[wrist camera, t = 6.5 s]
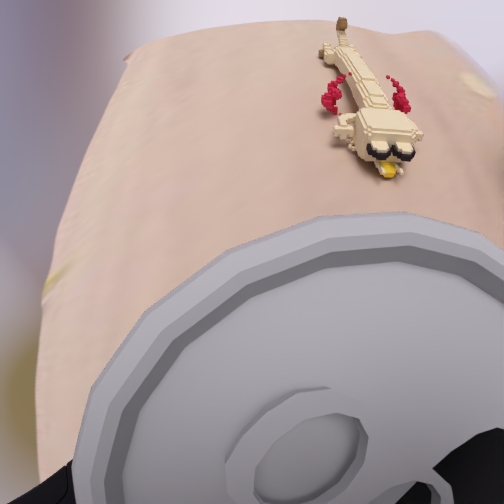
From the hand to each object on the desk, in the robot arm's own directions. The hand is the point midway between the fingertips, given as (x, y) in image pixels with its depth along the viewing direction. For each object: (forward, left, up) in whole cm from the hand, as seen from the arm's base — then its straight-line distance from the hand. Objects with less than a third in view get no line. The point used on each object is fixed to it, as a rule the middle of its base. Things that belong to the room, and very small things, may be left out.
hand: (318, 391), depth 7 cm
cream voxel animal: (+19, +24, -14) cm, 34 cm away
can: (0, -1, -7) cm, 7 cm away
